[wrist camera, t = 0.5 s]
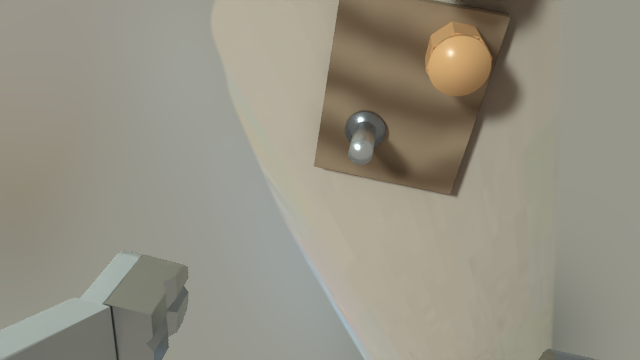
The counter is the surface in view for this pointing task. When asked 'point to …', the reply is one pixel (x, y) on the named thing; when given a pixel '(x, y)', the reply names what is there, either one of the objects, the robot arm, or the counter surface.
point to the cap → (457, 59)
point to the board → (400, 90)
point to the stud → (364, 135)
